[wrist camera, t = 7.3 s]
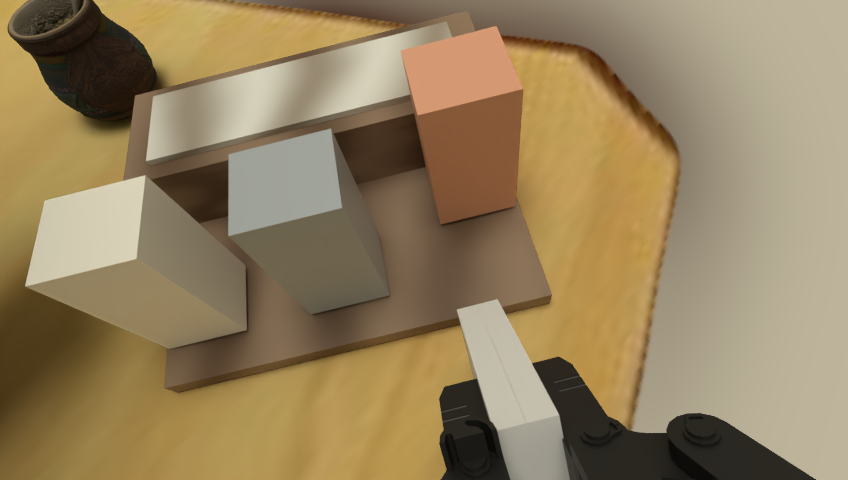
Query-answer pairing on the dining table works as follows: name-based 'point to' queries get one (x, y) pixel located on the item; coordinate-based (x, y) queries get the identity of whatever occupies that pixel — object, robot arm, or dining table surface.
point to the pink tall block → (467, 121)
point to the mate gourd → (84, 56)
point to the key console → (376, 180)
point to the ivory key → (138, 264)
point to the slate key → (306, 222)
